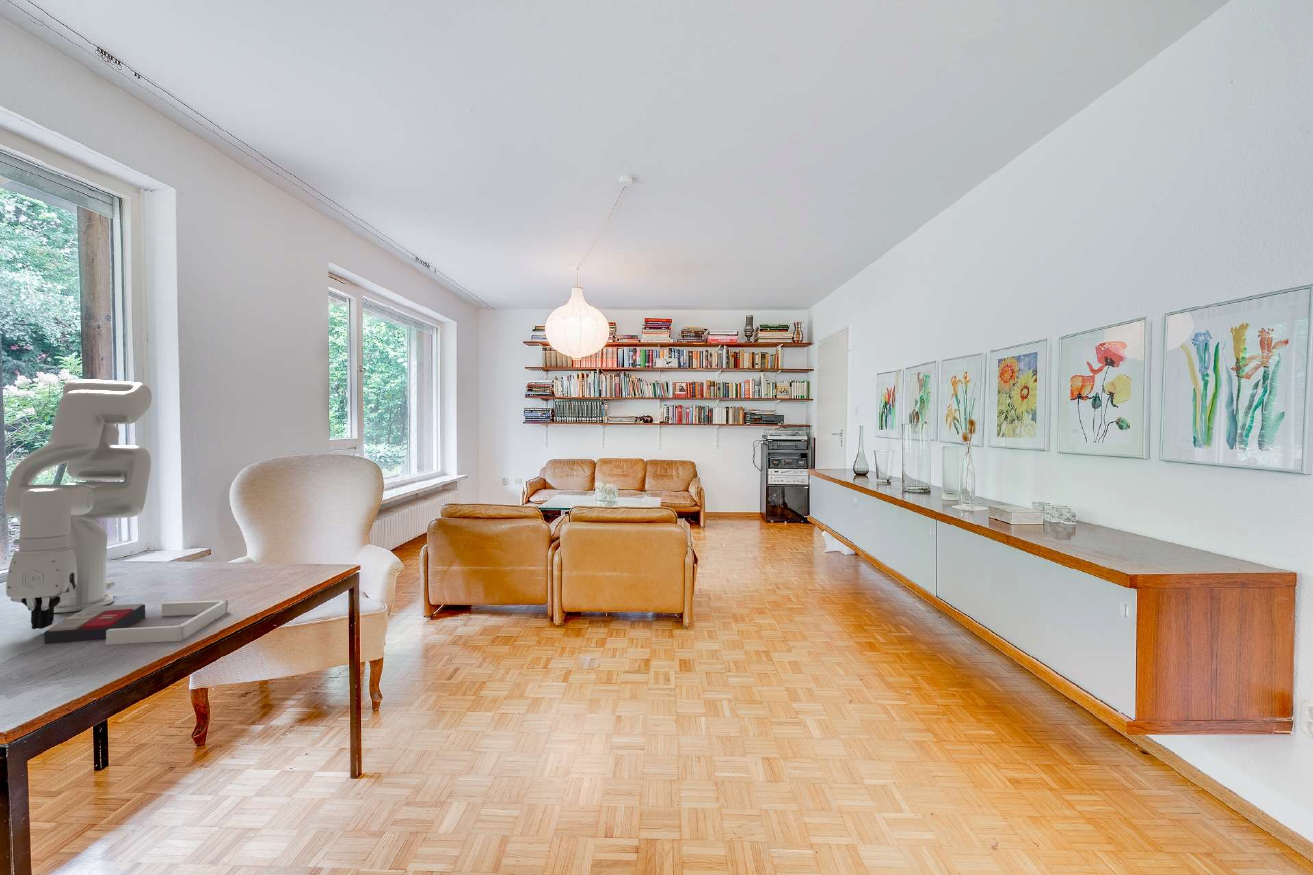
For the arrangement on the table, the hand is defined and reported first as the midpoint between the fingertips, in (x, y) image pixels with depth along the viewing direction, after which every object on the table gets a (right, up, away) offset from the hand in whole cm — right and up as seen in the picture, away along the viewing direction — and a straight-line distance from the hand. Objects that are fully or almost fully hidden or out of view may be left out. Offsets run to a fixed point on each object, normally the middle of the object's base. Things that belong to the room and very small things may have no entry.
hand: (42, 626), depth 122 cm
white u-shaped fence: (+23, -2, +6) cm, 23 cm away
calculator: (+9, -2, +3) cm, 10 cm away
